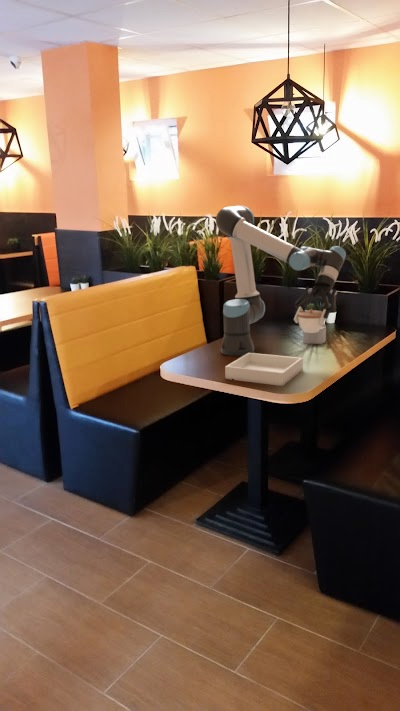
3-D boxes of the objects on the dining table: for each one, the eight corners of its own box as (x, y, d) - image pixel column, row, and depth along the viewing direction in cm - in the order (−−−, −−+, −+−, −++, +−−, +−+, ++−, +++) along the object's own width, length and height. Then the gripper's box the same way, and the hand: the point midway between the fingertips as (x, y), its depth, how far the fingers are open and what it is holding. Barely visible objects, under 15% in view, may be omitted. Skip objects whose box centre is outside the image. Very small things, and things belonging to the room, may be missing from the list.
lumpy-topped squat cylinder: (301, 343, 281) (301, 325, 279) (306, 336, 293) (306, 319, 291) (323, 344, 278) (323, 326, 275) (327, 337, 289) (328, 320, 287)
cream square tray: (225, 378, 233) (225, 366, 232) (248, 363, 251) (248, 352, 250) (282, 385, 222) (282, 373, 220) (302, 369, 240) (302, 357, 239)
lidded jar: (324, 334, 239) (324, 311, 236) (297, 334, 241) (297, 311, 238) (324, 328, 249) (324, 306, 246) (298, 328, 251) (298, 306, 248)
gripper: (354, 286, 244) (336, 331, 237) (305, 283, 259) (286, 324, 251) (349, 275, 239) (330, 320, 232) (299, 272, 253) (279, 314, 246)
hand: (307, 322), depth 241 cm, fingers closed on lidded jar, 11 cm apart
